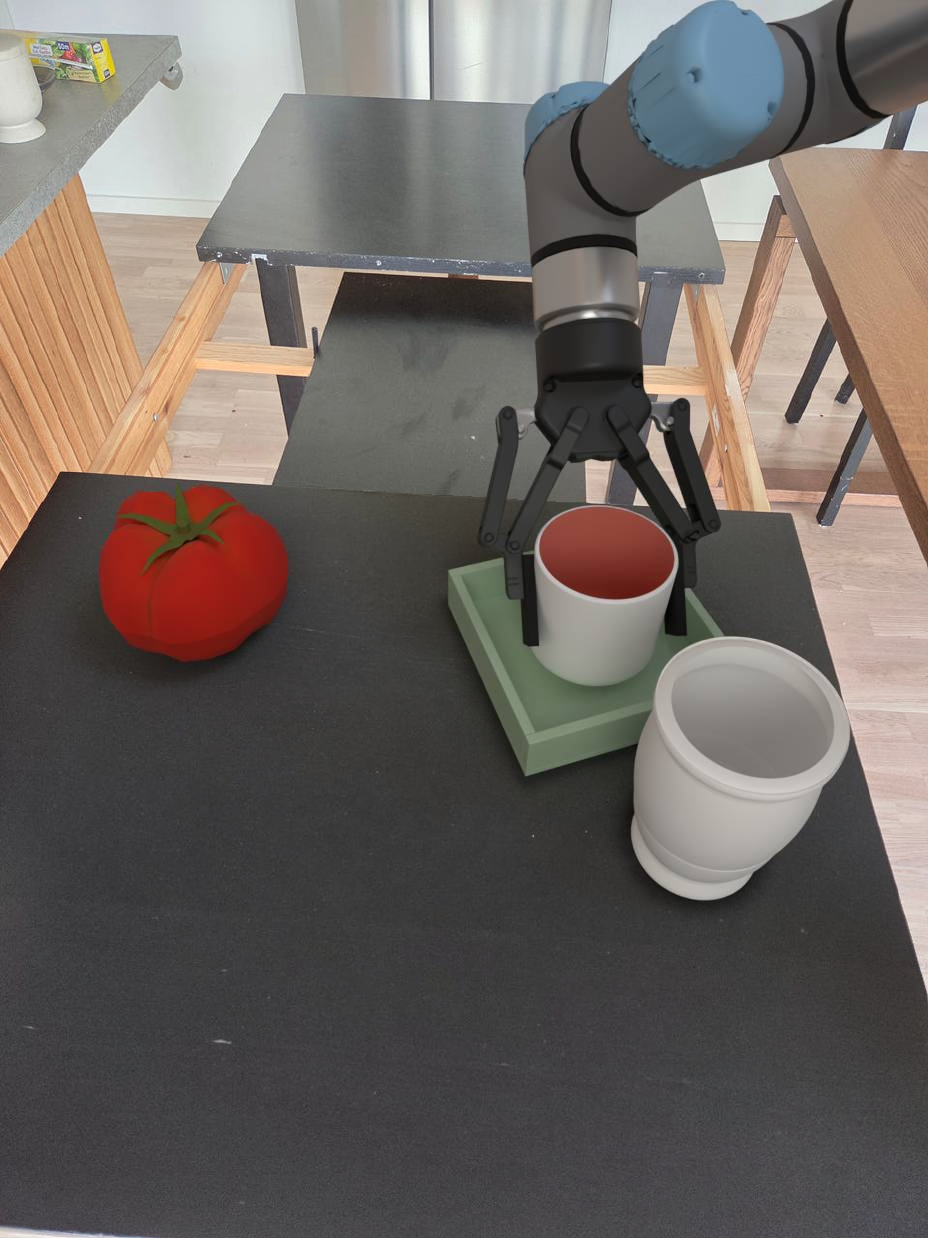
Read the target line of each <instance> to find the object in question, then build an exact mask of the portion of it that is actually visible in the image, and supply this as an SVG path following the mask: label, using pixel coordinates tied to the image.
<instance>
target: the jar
mask: <svg viewBox="0 0 928 1238" xmlns="http://www.w3.org/2000/svg"><path fill="white" fill-rule="evenodd" d="M849 719H850V718H849V715H848V712H847V708H846V706H845V704H844V702H843V700H842V698H841V696H840V695H839V692H838V691H837V689H836V688H835V686H833V684H832V683H831V682H830V681H829V679H828V678H827V677H826V676H825V675H824V674H823V673H822V672H821V671H820V670H819V669H818V668H816V666H814V665H813V664H812V663H810V661H807V660H806V659H804V658H803V657H801V656H800V655H798V654H797V653H795V652H793V651H791V650H789V649H787V648H785V647H782V646H780V645H777V644H775V643H772V642H769V641H766V640H762V639H757V638H753V637H745V636H725V637H717V638H711V639H707V640H703V641H700V642H697V643H695V644H692V645H690V646H688V647H686V648H685V649H683V650H681V651H680V652H679V653H677V654H676V655H675V656H674V657H673V658H672V659H671V660H670V661H669V662H668V663H667V665H666V666H665V667H664V669H663V671H662V672H661V675H660V677H659V679H658V682H657V685H656V688H655V692H654V697H653V710H652V712H651V714H650V716H649V718H648V720H647V722H646V724H645V726H644V729H643V731H642V734H641V737H640V740H639V743H637V747H636V753H635V758H634V767H633V810H634V812H633V813H634V814H633V815H632V819H631V824H630V825H631V826H630V839H631V844H632V848H633V851H634V854H635V856H636V859H637V860H638V862H639V864H640V866H641V867H642V869H643V870H644V871H645V872H646V874H647V875H649V877H650V878H651V879H652V880H653V881H655V883H657V884H658V885H659V886H660V887H662V888H664V889H665V890H667V891H669V892H671V893H672V894H675V895H677V896H679V897H683V898H686V899H690V900H695V901H714V900H720V899H723V898H726V897H728V896H731V895H733V894H735V893H736V892H737V891H739V890H741V888H743V887H744V886H745V885H746V884H747V883H748V882H749V880H750V878H751V877H752V876H753V873H754V872H756V871H758V870H759V869H761V868H762V867H763V866H764V865H766V864H767V863H768V862H769V861H770V860H771V859H772V858H774V856H775V855H777V854H778V853H779V852H780V851H782V850H783V849H784V848H785V847H786V846H787V845H788V844H789V843H791V841H792V840H794V838H795V837H796V836H797V835H798V834H799V833H800V831H801V830H802V828H804V826H805V824H806V823H807V822H808V820H809V818H810V817H811V815H812V813H813V811H814V809H815V807H816V805H817V803H818V800H819V798H820V796H821V793H822V790H823V787H824V786H825V785H826V784H827V783H828V782H830V780H831V779H832V778H833V777H834V776H835V774H836V773H837V772H838V770H839V768H840V767H841V765H842V764H843V761H844V759H845V757H846V755H847V752H848V750H849V746H850V740H851V727H850V726H851V725H850V720H849Z"/></svg>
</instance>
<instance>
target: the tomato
mask: <svg viewBox="0 0 928 1238" xmlns="http://www.w3.org/2000/svg"><path fill="white" fill-rule="evenodd" d="M174 491H175V492H174V493H175V499H174V498H173V497H171V496H170V494H168V493H167V492H166V491H143V490H138V491H136V492H135V493H133V494H132V495H130V496H129V497H127V498H126V499H124V500H123V501H122V502H121V505H120V507H119V509H118V511H117V512H116V515H110V517H112V518H115V521H114V522H115V523H114V528H113V530H112V531H111V533H110V534H109V536H108V538H107V540H106V541H105V542H104V544H103V547H102V548H101V550H100V552H99V553H100V555H99V564H98V580H99V589H100V598H101V602H102V607H103V612H104V615H105V616H106V617H107V618H108V620H109V621H110V622H111V623H112V625H113V626H114V627H115V629H116V630H117V631H118V633H119V634H120V635H121V636H122V637H123V639H124V641H126V643H127V644H128V645H129V646H132V647H134V648H136V649H139V650H141V651H145V652H150V653H156V654H162V655H164V656H165V655H166V656H168V657H170V658H172V659H174V660H175V659H176V660H177V661H180V662H182V663H188V662H196V661H205V660H211V659H213V658H216V657H219V656H222V655H224V654H227V653H230V652H233V651H235V650H236V649H238V648H239V646H240V645H241V644H242V643H243V642H244V641H246V639H247V638H249V636H251V634H253V633H255V632H256V631H258V630H260V629H261V628H264V627H266V626H267V625H269V624H271V623H272V621H273V620H274V618H275V616H276V615H277V613H278V611H279V610H280V608H281V606H282V605H283V602H284V600H285V599H286V596H287V594H288V581H289V569H290V568H289V566H290V559H289V556H288V553H287V550H286V547H285V545H284V542H283V540H282V538H281V536H280V533H279V532H278V531H277V528H276V527H274V525H272V524H271V523H270V522H268V521H267V520H266V519H264V518H263V516H261V515H260V514H256V513H253V512H252V513H251V512H250V511H249V510H248V509H247V508H246V507H245V506H243V504H244V503H247V502H248V500H247V501H238V500H237V499H236V498H235V497H234V496H233V495H232V494H230V493H228V492H227V491H225V490H223V489H222V488H219V487H217V486H211V485H206V484H198V485H195V486H193V487H191V488H188V489H186V490H185V491H182V488H181V485H180V482H179V481H178V480H177V481H176V486H175V490H174Z"/></svg>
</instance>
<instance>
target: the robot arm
mask: <svg viewBox="0 0 928 1238" xmlns="http://www.w3.org/2000/svg"><path fill="white" fill-rule="evenodd" d="M926 102H928V0H831V1H828V2H827V3H824V4H823V5H822V6H820V7H817V8H816V9H814V10H812V11H810V12H808V13H805V14H801V15H799V16H795V17H791V18H785V19H780V20H777V21H772V22H765V21H764V20H763V19H762V18H761V17H760V16H759V15H758V14H757V13H756V12H755V11H753V10H752V9H743V8H740V7H738V5H737V3H736V2H735V1H733V0H709V1H707V2H704V3H702V4H700V5H698V6H696V7H694V9H692V10H691V11H690V12H688V13H686V15H684V16H683V17H681V18H680V19H679V20H678V21H677V22H675V23H674V24H671V25H670V26H668V27H666V28H665V29H664V30H662V31H661V32H660V33H659V34H658V35H657V37H656V38H654V39H652V40H651V41H650V42H649V43H648V44H647V46H646V48H645V50H644V51H642V52H641V54H640V55H639V56H638V57H637V58H636V59H635V60H634V61H633V62H632V63H631V64H630V65H629V66H628V67H627V68H626V69H625V70H624V71H622V73H621V74H620V75H618V77H617V78H615V80H614V81H612V82H611V83H610V84H609V83H606V82H602V81H595V80H593V81H591V80H581V81H576V82H570V83H565V84H562V85H561V86H559V88H558V90H557V91H555V92H546V93H544V94H543V95H542V96H540V97H539V98H537V100H536V101H535V102H534V103H533V104H532V105H531V107H530V108H529V110H528V113H527V115H526V118H525V121H524V154H523V163H522V176H523V181H524V189H525V190H524V191H525V202H526V203H525V205H526V217H527V218H526V219H527V230H528V245H529V246H528V247H529V258H530V260H529V261H530V265H531V287H532V288H531V289H532V312H533V313H532V314H533V325H534V328H535V329H536V330H537V331H538V332H539V334H538V335H537V337H536V338H535V340H534V345H535V346H534V348H535V349H534V350H535V351H534V352H535V365H536V367H535V369H536V382H537V383H536V384H537V396H536V400H535V403H534V405H533V406H530V407H523V408H514V407H513V406H511V405H505V406H503V407H501V408H500V410H499V411H498V413H497V415H496V417H495V422H494V423H495V430H496V440H497V447H496V448H497V449H496V453H495V458H494V462H493V466H492V470H491V475H490V479H489V483H488V487H487V488H488V489H487V492H486V497H485V502H484V506H483V510H482V515H481V519H480V523H479V527H478V531H477V537H476V541H477V544H478V545H479V546H480V547H482V548H486V549H489V550H491V551H496V552H497V553H499V554H500V555H501V556H502V558H503V560H504V575H505V592H506V595H507V597H508V599H510V600H514V599H520V601H521V618H522V635H523V644H524V645H526V646H528V647H533V646H539V632H538V615H537V597H536V580H535V566H534V554H525V555H523V553H524V552H523V551H524V550H523V549H524V547H525V545H526V543H527V541H528V539H529V537H530V535H531V533H532V531H533V529H534V527H535V525H536V524H537V521H538V519H539V516H541V515H540V514H542V511H543V509H544V507H545V505H546V503H547V501H548V499H549V497H550V495H551V493H552V491H553V489H554V486H556V485H555V484H556V483H557V480H558V479H559V477H560V475H561V473H562V471H563V469H564V468H565V466H566V464H567V463H568V462H569V464H580V463H584V462H587V461H589V460H593V461H596V462H597V461H598V462H613V461H615V460H617V462H618V463H619V465H620V466H621V468H622V469H623V470H625V471H626V472H627V474H628V475H629V477H630V479H631V480H632V482H633V483H634V485H635V486H636V488H637V489H638V491H639V493H640V494H641V496H642V498H643V499H644V500H645V501H646V504H647V505H648V507H649V508H650V510H651V511H652V513H653V515H654V516H655V518H656V519H657V521H658V522H659V525H660V527H661V528H662V529H663V530H664V531H665V532H666V533H667V534H668V535H669V537H670V538H671V540H672V541H673V543H674V545H675V547H676V550H677V553H678V569H677V573H676V576H675V580H674V583H673V587H672V590H671V594H670V598H669V601H668V605H667V608H666V612H665V615H664V625H665V634H668V635H673V636H687V622H686V601H685V588H690V589H694V588H695V587H696V585H697V582H698V574H697V572H698V571H697V552H696V546H697V543H698V542H699V540H701V539H702V538H704V537H707V536H709V535H711V534H714V533H717V532H719V531H720V529H721V527H722V521H721V519H720V515H719V512H718V509H717V506H716V504H715V503H716V502H715V501H714V497H713V494H712V491H711V489H710V486H709V483H708V480H707V479H708V478H707V477H706V474H705V470H704V468H703V465H702V462H701V458H700V456H699V452H698V450H697V447H696V443H695V441H694V438H693V436H692V432H691V402H690V401H689V400H688V399H687V398H686V397H678V398H677V399H676V400H673V401H652V400H651V399H650V397H649V395H648V394H647V392H646V389H645V383H644V382H645V381H644V379H645V378H644V377H645V376H644V356H643V355H644V354H643V340H642V339H643V337H642V329H641V327H639V326H638V324H637V323H636V321H638V319H639V318H640V317H641V315H642V313H641V312H642V311H641V297H640V296H641V295H640V283H639V267H638V258H639V257H638V256H639V255H638V245H637V217H640V215H641V216H642V215H643V214H645V213H647V212H648V211H650V210H651V209H653V208H654V207H655V206H657V205H658V204H660V203H661V202H663V201H665V199H667V198H669V197H671V196H672V195H674V194H675V193H677V192H679V191H680V190H682V189H683V188H685V187H687V186H688V185H691V184H693V183H695V182H697V181H700V180H702V179H707V178H709V177H710V178H711V177H713V176H716V175H717V176H718V175H719V174H723V173H727V172H731V171H735V170H737V169H741V168H744V167H748V166H751V165H756V164H758V163H762V162H765V161H769V160H772V159H775V158H778V157H779V156H783V155H787V154H791V153H795V152H799V151H803V150H806V149H810V148H813V147H817V146H821V145H830V144H836V143H839V142H842V141H844V140H848V139H851V138H853V137H857V136H858V135H859V136H860V135H861V134H862V133H865V132H866V131H869V130H871V129H872V128H874V127H876V126H878V125H880V124H881V123H882V122H883V121H884V120H886V119H888V118H890V117H891V116H895V115H896V114H899V113H902V112H904V111H906V110H908V109H911V108H914V107H916V106H919V105H922V104H923V103H926ZM649 419H650V420H652V421H653V422H654V425H655V429H656V431H658V432H659V433H662V437H663V442H664V446H665V450H666V452H667V455H668V458H669V461H670V465H671V467H672V470H673V473H674V476H675V479H676V482H677V485H678V488H679V491H680V494H681V497H682V499H683V502H684V505H685V508H686V511H687V513H686V512H685V510H684V509H683V507H682V506H681V504H680V502H679V501H678V499H677V498H676V496H675V495H674V493H673V492H672V490H671V488H670V487H669V485H668V483H667V482H666V481H665V480H666V479H664V477H663V476H662V474H661V472H660V471H659V469H658V468H657V466H656V465H655V462H653V460H652V459H651V454H650V451H649V449H648V447H647V446H646V444H645V443H644V441H643V440H642V438H641V436H640V435H639V434H640V432H641V431H642V429H643V427H644V426H645V424H646V423H647V421H648V420H649ZM532 424H534V425H535V427H536V428H537V430H539V432H540V433H541V434H542V435H543V437H544V438H545V439H546V441H547V442H548V443H549V444H550V445H549V447H548V450H547V452H546V454H545V455H544V458H543V459H542V462H541V464H540V467H539V469H538V472H537V473H536V476H535V477H534V480H532V483H531V486H530V487H529V489H528V491H527V493H526V496H525V498H524V500H523V501H522V504H521V505H520V507H519V510H518V512H517V514H516V515H515V518H514V519H513V522H512V524H511V526H510V528H509V530H508V532H507V534H505V533H502V532H500V529H501V525H502V521H503V516H504V512H505V507H506V503H507V498H508V493H509V490H510V485H511V481H512V476H513V471H514V468H515V463H516V459H517V454H518V450H519V444H520V443H519V441H521V440H523V439H524V438H525V437H526V435H527V434H528V431H529V427H530V425H532ZM687 514H688V515H687Z"/></svg>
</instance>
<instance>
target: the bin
mask: <svg viewBox="0 0 928 1238" xmlns="http://www.w3.org/2000/svg"><path fill="white" fill-rule="evenodd" d="M525 554H534V549H533V550H530V551H525V552H523V555H525ZM685 601H686V622H687V636H673V635H668V634H665V625H664V619H663V622H662V626H661V629H660V633H659V636H658V640H657V644H656V647H655V650H654V653H653V656H652V657H651V659H650V661H649V662H648V664H647V665H646V666H645V667H644V668H643V669H642V670H641V671H640V672H639V673H638V674H636V675H635V676H633V677H632V678H630V679H628V680H626V681H623V682H621V683H617V684H614V685H608V686H585V685H580V684H576V683H572V682H569V681H567V680H564V679H562V678H560V677H558V676H556V675H555V674H553V673H551V672H550V671H549V670H548V669H546V668H545V667H544V666H543V665H542V664H541V663H540V662H539V660H538V659H537V658H536V657H535V655H534V654H533V652H532V650H531V647H528V646H526V645H524V644H523V635H522V618H521V601H520V599H514V600H510V599H508V597H507V595H506V592H505V575H504V560H503V557H498V558H493V559H490V560H486V561H482V562H477V563H472V564H468V565H464V566H460V567H455V568H451V569H448V570H447V605H448V608H449V609H450V611H451V612H450V613H451V614H452V617H453V619H454V621H455V623H456V626H457V628H458V630H459V633H460V634H461V637H462V639H463V641H464V643H465V645H466V648H467V650H468V652H469V654H470V656H471V659H472V661H473V663H474V666H475V668H476V670H477V672H478V674H479V677H480V679H481V681H482V683H483V685H484V688H485V690H486V692H487V694H488V696H489V699H490V701H491V704H492V706H493V708H494V711H495V712H496V714H497V717H498V719H499V721H500V724H501V726H502V728H503V731H504V732H505V734H506V737H507V739H508V741H509V743H510V745H511V748H512V750H513V752H514V755H515V756H516V759H517V762H518V764H519V765H520V768H521V770H522V772H523V774H524V776H525V777H528V776H531V775H532V776H533V775H535V774H538V773H542V772H545V771H548V770H552V769H555V768H559V767H562V766H566V765H569V764H572V763H576V762H579V761H582V760H583V761H584V760H586V759H589V758H593V757H596V756H597V757H598V756H599V755H603V754H607V753H610V752H613V751H617V750H620V749H624V748H628V747H630V746H634V745H638V744H639V740H640V737H641V734H642V731H643V729H644V726H645V724H646V722H647V720H648V718H649V716H650V714H651V712H652V710H653V697H654V692H655V688H656V685H657V682H658V679H659V677H660V675H661V672H662V671H663V669H664V667H665V666H666V665H667V663H668V662H669V661H670V660H671V659H672V658H673V657H674V656H675V655H676V654H677V653H679V652H680V651H681V650H683V649H685V648H686V647H688V646H690V645H692V644H695V643H697V642H700V641H703V640H707V639H711V638H717V637H726V636H725V634H724V633H723V632H722V630H721V629H720V628H719V626H718V625H717V623H716V622H715V621H714V618H712V617H711V615H710V613H709V612H708V611H707V610H706V608H705V607H704V605H703V604H702V603H701V601H700V600H699V598H698V597H697V596H696V594H695V593H694V592H693V590H692V588H685Z"/></svg>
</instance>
